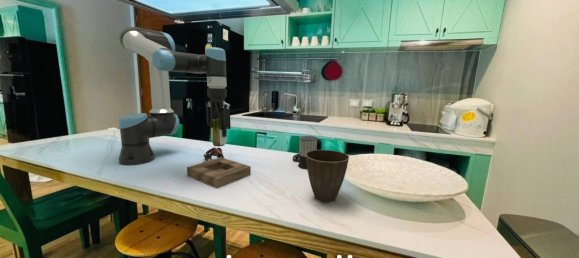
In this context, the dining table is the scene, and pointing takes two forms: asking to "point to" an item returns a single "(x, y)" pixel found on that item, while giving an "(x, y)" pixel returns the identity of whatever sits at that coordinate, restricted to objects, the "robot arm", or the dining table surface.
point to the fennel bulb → (216, 132)
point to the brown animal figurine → (213, 153)
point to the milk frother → (306, 149)
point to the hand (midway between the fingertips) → (218, 143)
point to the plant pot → (326, 173)
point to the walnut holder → (218, 172)
